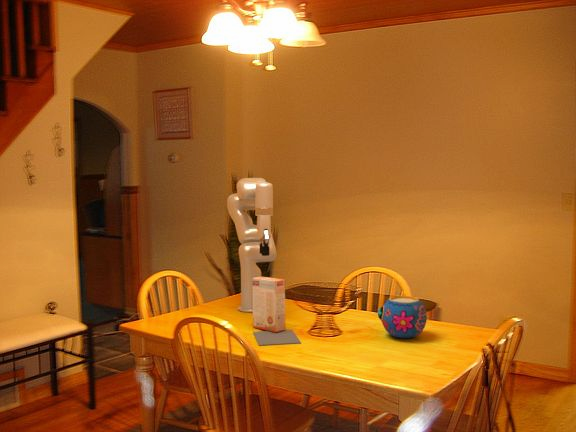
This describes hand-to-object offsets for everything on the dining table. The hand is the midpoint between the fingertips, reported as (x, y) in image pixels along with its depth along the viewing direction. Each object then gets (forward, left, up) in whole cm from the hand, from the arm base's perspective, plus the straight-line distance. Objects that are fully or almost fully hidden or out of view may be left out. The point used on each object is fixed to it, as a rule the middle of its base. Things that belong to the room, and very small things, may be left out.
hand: (264, 254), depth 248 cm
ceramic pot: (+32, +50, -30) cm, 66 cm away
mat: (+24, +1, -30) cm, 38 cm away
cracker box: (+12, 0, -29) cm, 32 cm away
